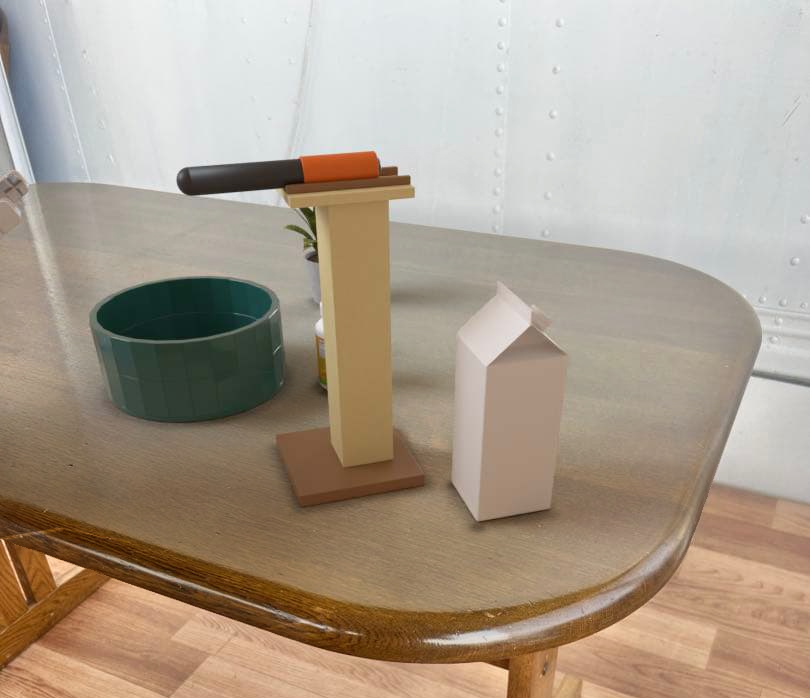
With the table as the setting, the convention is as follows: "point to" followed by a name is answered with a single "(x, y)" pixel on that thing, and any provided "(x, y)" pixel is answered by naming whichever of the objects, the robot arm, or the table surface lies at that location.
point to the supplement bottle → (321, 351)
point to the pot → (190, 347)
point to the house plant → (312, 256)
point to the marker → (277, 173)
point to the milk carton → (506, 409)
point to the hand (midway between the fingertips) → (19, 192)
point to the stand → (352, 346)
